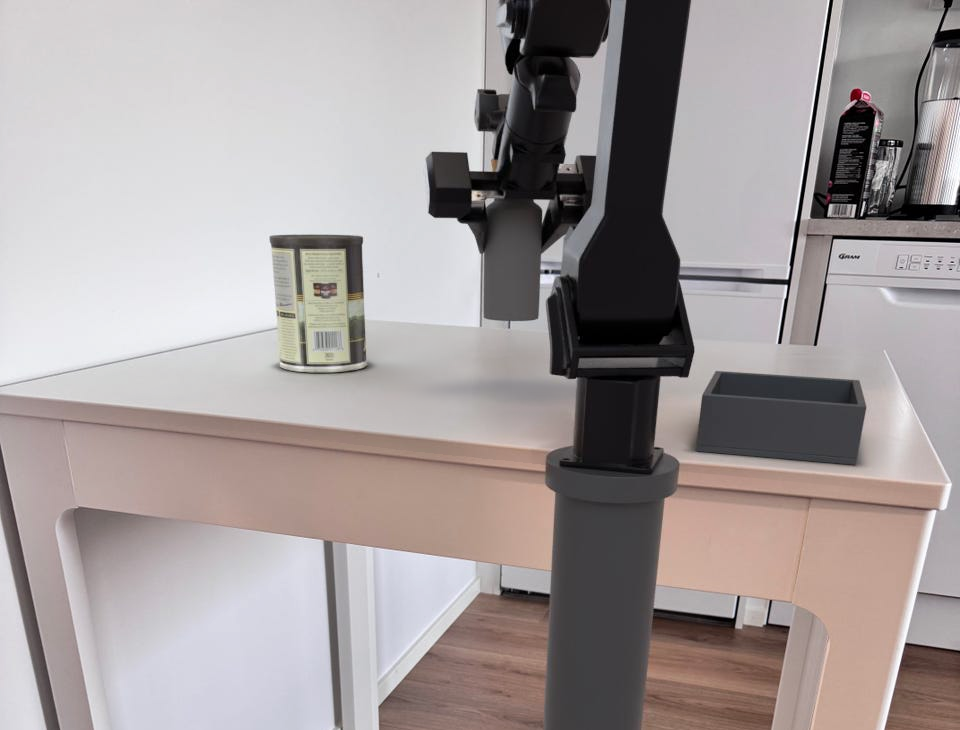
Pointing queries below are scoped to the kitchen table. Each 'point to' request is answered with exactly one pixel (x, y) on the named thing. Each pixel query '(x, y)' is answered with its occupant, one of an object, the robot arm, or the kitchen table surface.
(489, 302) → the bottle
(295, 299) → the coffee can
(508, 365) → the kitchen table surface
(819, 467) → the kitchen table surface
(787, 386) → the open rectangular box
